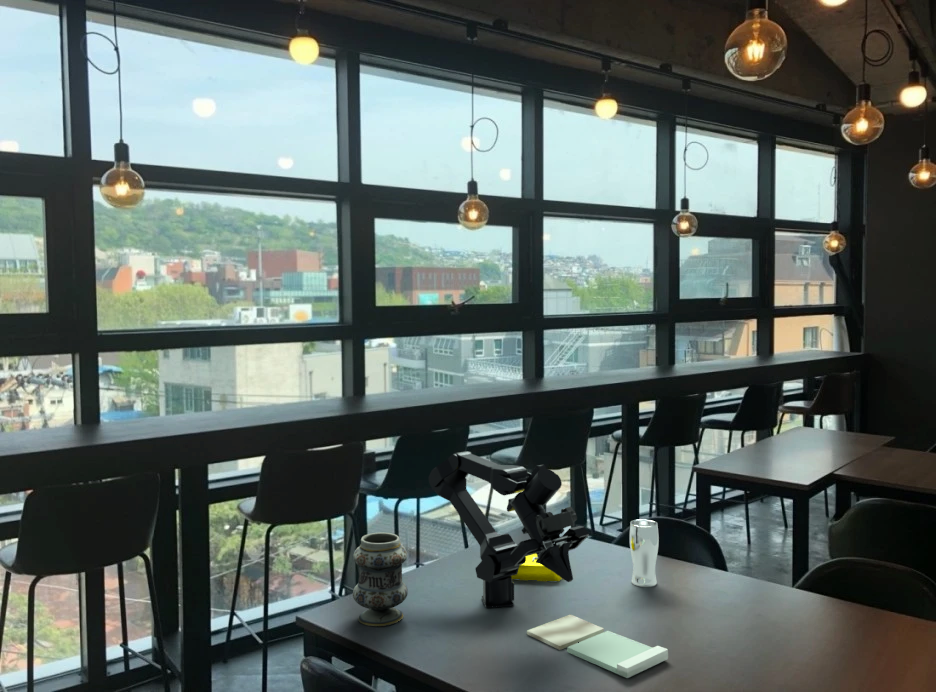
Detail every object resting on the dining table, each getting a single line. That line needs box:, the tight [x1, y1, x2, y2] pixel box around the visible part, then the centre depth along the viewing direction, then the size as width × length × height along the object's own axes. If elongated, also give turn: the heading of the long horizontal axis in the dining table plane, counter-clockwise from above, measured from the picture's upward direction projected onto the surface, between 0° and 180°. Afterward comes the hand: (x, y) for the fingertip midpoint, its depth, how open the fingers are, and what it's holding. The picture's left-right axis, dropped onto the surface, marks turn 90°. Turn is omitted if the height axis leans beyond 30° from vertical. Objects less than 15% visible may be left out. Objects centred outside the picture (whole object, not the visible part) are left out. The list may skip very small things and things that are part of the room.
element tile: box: [511, 554, 563, 582], centre depth 194 cm, size 15×15×5 cm
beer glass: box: [629, 518, 660, 588], centre depth 184 cm, size 7×7×15 cm
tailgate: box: [566, 630, 669, 679], centre depth 145 cm, size 2×12×15 cm
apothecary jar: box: [352, 532, 409, 627], centre depth 164 cm, size 12×12×18 cm
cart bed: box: [526, 614, 605, 651], centre depth 156 cm, size 10×13×1 cm
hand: (570, 580), depth 154 cm, fingers closed
